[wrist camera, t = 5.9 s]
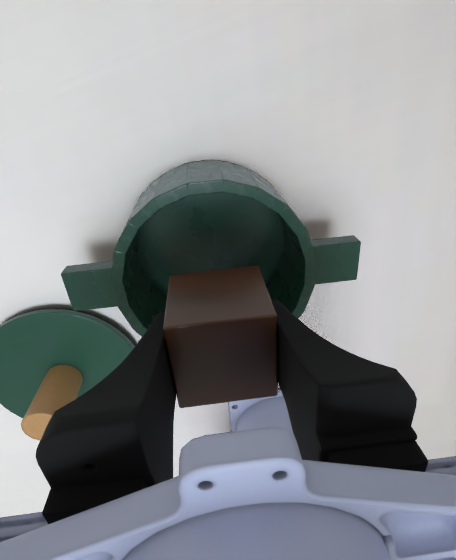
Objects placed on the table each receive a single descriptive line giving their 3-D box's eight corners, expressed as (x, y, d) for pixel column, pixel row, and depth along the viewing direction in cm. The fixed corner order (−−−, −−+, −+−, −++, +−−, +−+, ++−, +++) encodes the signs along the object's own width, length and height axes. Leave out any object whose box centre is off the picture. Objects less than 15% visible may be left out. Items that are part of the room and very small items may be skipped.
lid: (157, 409, 30) (150, 471, 25) (20, 426, 30) (-14, 492, 25) (128, 295, 25) (112, 346, 20) (-40, 313, 24) (-99, 370, 19)
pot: (325, 299, 26) (354, 344, 22) (108, 323, 26) (90, 376, 21) (336, 147, 21) (377, 164, 16) (64, 173, 21) (26, 199, 16)
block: (261, 335, 18) (278, 396, 14) (181, 344, 17) (179, 409, 14) (258, 264, 16) (277, 314, 12) (169, 274, 16) (162, 328, 12)
